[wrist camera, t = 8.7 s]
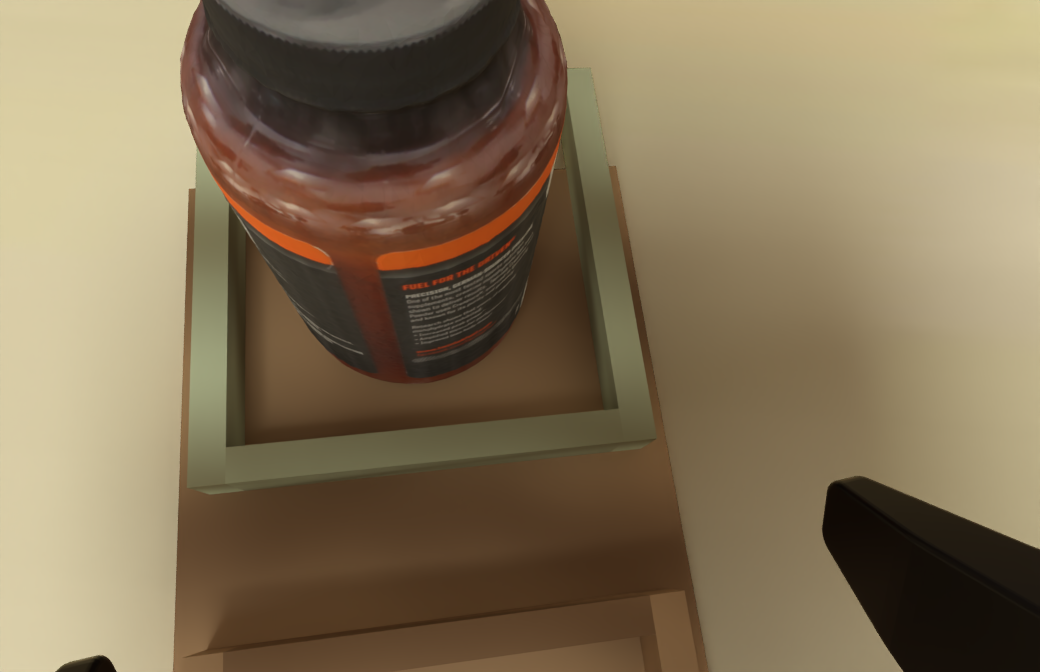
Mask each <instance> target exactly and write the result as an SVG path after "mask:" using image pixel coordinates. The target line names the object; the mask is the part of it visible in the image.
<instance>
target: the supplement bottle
mask: <svg viewBox="0 0 1040 672" xmlns="http://www.w3.org/2000/svg"><path fill="white" fill-rule="evenodd" d="M180 61H181V70H180V75H181V91H182V103H183V108H184V113H185V115H186V119H187V122H188V124H189V126H190V129H191V133H192V135H193V138H194V140H195V143H196V145H197V147H198V149H199V152H200V154H201V156H202V158H203V160H204V162H205V164H206V166H207V167H208V169H209V171H210V173H211V175H212V176H213V178H214V180H215V181H216V183H217V184H218V186H219V187H220V189H221V191H222V192H223V194H224V197H225V199H226V200H227V202H228V203H229V204H230V206H231V207H232V209H233V210H234V212H235V214H236V215H237V217H238V218H239V220H240V222H241V223H242V225H243V226H244V228H245V230H246V231H247V233H248V234H249V236H250V238H251V239H252V241H253V242H254V244H255V245H256V247H257V249H258V251H259V252H260V254H261V255H262V257H263V258H264V260H265V262H266V263H267V265H268V266H269V268H270V269H271V271H272V272H273V274H274V276H275V277H276V279H277V280H278V282H279V284H280V285H281V286H282V288H283V289H284V291H285V292H286V294H287V296H288V297H289V299H290V301H291V302H292V304H293V305H294V307H295V308H296V310H297V312H298V314H299V315H300V316H301V318H302V319H303V321H304V322H305V324H306V325H307V327H308V329H309V330H310V332H311V333H312V334H313V335H314V336H315V337H316V339H317V340H318V341H319V342H320V343H321V344H322V345H323V346H324V347H325V349H326V350H327V351H328V352H329V353H330V354H331V355H333V356H334V357H335V358H336V359H337V360H339V361H340V362H341V363H342V364H344V365H345V366H347V367H349V368H351V369H352V370H354V371H356V372H359V373H361V374H363V375H366V376H369V377H371V378H374V379H378V380H382V381H387V382H392V383H404V384H422V383H430V382H435V381H439V380H443V379H447V378H449V377H451V376H454V375H457V374H459V373H461V372H463V371H466V370H467V369H469V368H471V367H472V366H474V365H476V364H477V363H479V362H480V361H481V360H483V359H484V358H485V357H486V356H488V355H489V354H490V353H491V352H492V351H493V350H494V349H495V348H497V347H498V346H499V344H500V343H501V342H502V340H503V339H504V338H505V336H506V335H507V333H508V332H509V330H510V329H511V327H512V325H513V323H514V320H515V318H516V316H517V314H518V312H519V310H520V307H521V304H522V301H523V298H524V294H525V290H526V286H527V281H528V277H529V273H530V269H531V265H532V260H533V257H534V252H535V248H536V244H537V240H538V236H539V231H540V227H541V223H542V217H543V214H544V210H545V206H546V201H547V197H548V193H549V187H550V183H551V179H552V174H553V170H554V166H555V161H556V157H557V153H558V148H559V143H560V138H561V133H562V129H563V125H564V120H565V112H566V105H567V86H568V77H567V61H566V57H565V52H564V49H563V45H562V41H561V37H560V34H559V32H558V29H557V26H556V23H555V22H554V19H553V18H552V16H551V14H550V11H549V9H548V6H547V5H546V3H545V1H544V0H201V1H200V3H199V5H198V7H197V9H196V11H195V12H194V14H193V17H192V20H191V23H190V25H189V28H188V31H187V35H186V38H185V42H184V46H183V50H182V54H181V58H180Z"/></svg>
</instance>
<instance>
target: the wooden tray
mask: <svg viewBox="0 0 1040 672" xmlns="http://www.w3.org/2000/svg"><path fill="white" fill-rule="evenodd" d="M567 77H568V86H567V105H566V112H565V120H564V125H563V129H562V133H561V141H562V147H563V154H564V160H565V166H566V169H554V170H553V174H552V179H551V183H550V187H549V193H548V197H547V201H546V206H545V210H544V214H543V217H542V223H541V227H540V231H539V236H538V240H537V244H536V248H535V252H534V257H533V260H532V265H531V269H530V273H529V277H528V281H527V286H526V290H525V294H524V298H523V301H522V304H521V307H520V310H519V312H518V314H517V316H516V318H515V320H514V323H513V325H512V327H511V329H510V330H509V332H508V333H507V335H506V336H505V338H504V339H503V340H502V342H501V343H500V344H499V346H498V347H497V348H495V349H494V350H493V351H492V352H491V353H490V354H489V355H488V356H486V357H485V358H484V359H483V360H481V361H480V362H479V363H477V364H476V365H474V366H472V367H471V368H469V369H467V370H466V371H463V372H461V373H459V374H457V375H454V376H451V377H449V378H447V379H443V380H439V381H435V382H430V383H422V384H404V383H392V382H387V381H382V380H378V379H374V378H371V377H369V376H366V375H363V374H361V373H359V372H356V371H354V370H352V369H351V368H349V367H347V366H345V365H344V364H342V363H341V362H340V361H339V360H337V359H336V358H335V357H334V356H333V355H331V354H330V353H329V352H328V351H327V350H326V349H325V347H324V346H323V345H322V344H321V343H320V342H319V341H318V340H317V339H316V337H315V336H314V335H313V334H312V333H311V332H310V330H309V329H308V327H307V325H306V324H305V322H304V321H303V319H302V318H301V316H300V315H299V314H298V312H297V310H296V308H295V307H294V305H293V304H292V302H291V301H290V299H289V297H288V296H287V294H286V292H285V291H284V289H283V288H282V286H281V285H280V284H279V282H278V280H277V279H276V277H275V276H274V274H273V272H272V271H271V269H270V268H269V266H268V265H267V263H266V262H265V260H264V258H263V257H262V255H261V254H260V252H259V251H258V249H257V247H256V245H255V244H254V242H253V241H252V239H251V238H250V236H249V234H248V233H247V231H246V230H245V228H244V226H243V225H242V223H241V222H240V220H239V218H238V217H237V215H236V214H235V212H234V210H233V209H232V207H231V206H230V204H229V203H228V202H227V200H226V199H225V197H224V194H223V192H222V191H221V189H220V187H219V186H218V184H217V183H216V181H215V180H214V178H213V176H212V175H211V173H210V171H209V169H208V167H207V166H206V164H205V162H204V160H203V158H202V156H201V154H200V152H199V149H198V147H197V158H196V189H189V202H188V233H187V264H186V294H185V325H184V356H183V386H182V417H181V448H180V479H179V509H178V540H177V571H176V601H175V632H174V663H173V672H708V667H707V661H706V656H705V650H704V645H703V639H702V634H701V628H700V623H699V618H698V612H697V607H696V601H695V596H694V590H693V585H692V579H691V574H690V568H689V563H688V558H687V552H686V547H685V541H684V536H683V530H682V525H681V519H680V514H679V508H678V503H677V498H676V492H675V487H674V481H673V476H672V470H671V465H670V459H669V454H668V448H667V443H666V438H665V432H664V427H663V421H662V416H661V410H660V405H659V399H658V394H657V388H656V383H655V377H654V372H653V367H652V361H651V356H650V350H649V345H648V339H647V334H646V328H645V323H644V317H643V312H642V307H641V301H640V296H639V290H638V285H637V279H636V274H635V268H634V263H633V257H632V252H631V247H630V241H629V236H628V230H627V225H626V219H625V214H624V208H623V203H622V197H621V192H620V187H619V181H618V176H617V170H616V166H608V162H607V156H606V150H605V145H604V139H603V134H602V128H601V123H600V117H599V111H598V106H597V100H596V95H595V89H594V84H593V78H592V72H591V68H567Z"/></svg>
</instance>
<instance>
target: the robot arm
mask: <svg viewBox="0 0 1040 672" xmlns="http://www.w3.org/2000/svg"><path fill="white" fill-rule="evenodd" d="M822 532H823V538H824V541H825V544H826V546H827V548H828V550H829V551H830V553H831V555H832V556H833V558H834V560H835V562H836V563H837V565H838V567H839V568H840V570H841V572H842V573H843V575H844V577H845V578H846V580H847V582H848V584H849V585H850V587H851V589H852V590H853V592H854V594H855V595H856V597H857V599H858V600H859V602H860V604H861V605H862V607H863V609H864V611H865V612H866V614H867V616H868V617H869V619H870V621H871V622H872V624H873V626H874V627H875V629H876V631H877V633H878V634H879V636H880V637H881V639H882V640H883V642H884V644H885V645H886V647H887V648H888V650H889V651H890V653H891V654H892V656H893V657H894V659H895V660H896V662H897V663H898V664H899V666H900V667H901V669H902V670H903V671H904V672H1040V549H1037V548H1035V547H1032V546H1030V545H1028V544H1025V543H1023V542H1020V541H1018V540H1016V539H1013V538H1011V537H1008V536H1006V535H1004V534H1001V533H999V532H996V531H994V530H991V529H989V528H987V527H984V526H982V525H979V524H977V523H975V522H972V521H970V520H967V519H965V518H963V517H960V516H958V515H955V514H953V513H950V512H948V511H946V510H943V509H941V508H938V507H936V506H934V505H931V504H929V503H926V502H924V501H922V500H919V499H917V498H914V497H912V496H910V495H907V494H905V493H902V492H900V491H897V490H895V489H893V488H890V487H888V486H885V485H883V484H881V483H878V482H876V481H873V480H871V479H869V478H866V477H863V476H854V477H850V478H846V479H841V480H837V481H834V482H832V483H831V484H830V486H829V487H828V490H827V496H826V504H825V511H824V518H823V525H822ZM56 672H116V670H115V668H114V666H113V664H112V662H111V661H110V660H109V659H108V658H107V657H105V656H103V655H102V656H100V655H98V656H93V657H89V658H85V659H81V660H76V661H72V662H69V663H66V664H64V665H63V666H61V667H60V668H59V669H58V670H57V671H56Z"/></svg>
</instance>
